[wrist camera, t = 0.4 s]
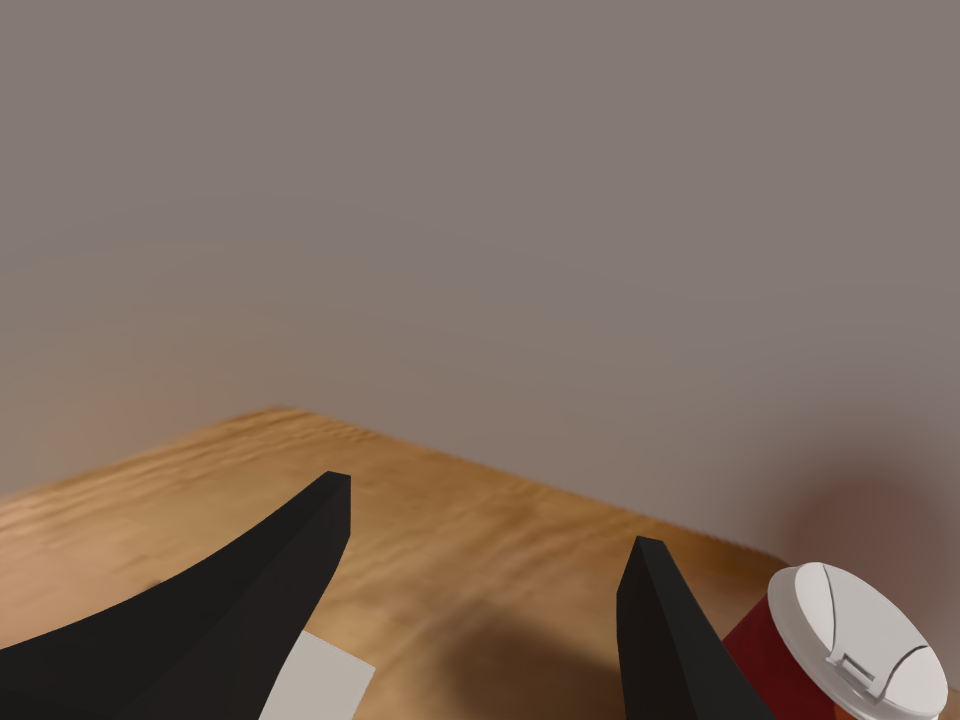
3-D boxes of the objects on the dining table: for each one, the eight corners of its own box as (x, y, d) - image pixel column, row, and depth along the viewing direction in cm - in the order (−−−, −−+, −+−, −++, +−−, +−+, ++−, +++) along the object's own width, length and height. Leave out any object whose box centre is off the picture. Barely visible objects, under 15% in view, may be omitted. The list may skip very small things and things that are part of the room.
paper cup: (739, 874, 26) (961, 776, 19) (619, 737, 30) (765, 609, 22) (778, 756, 32) (962, 644, 24) (673, 652, 35) (805, 527, 28)
